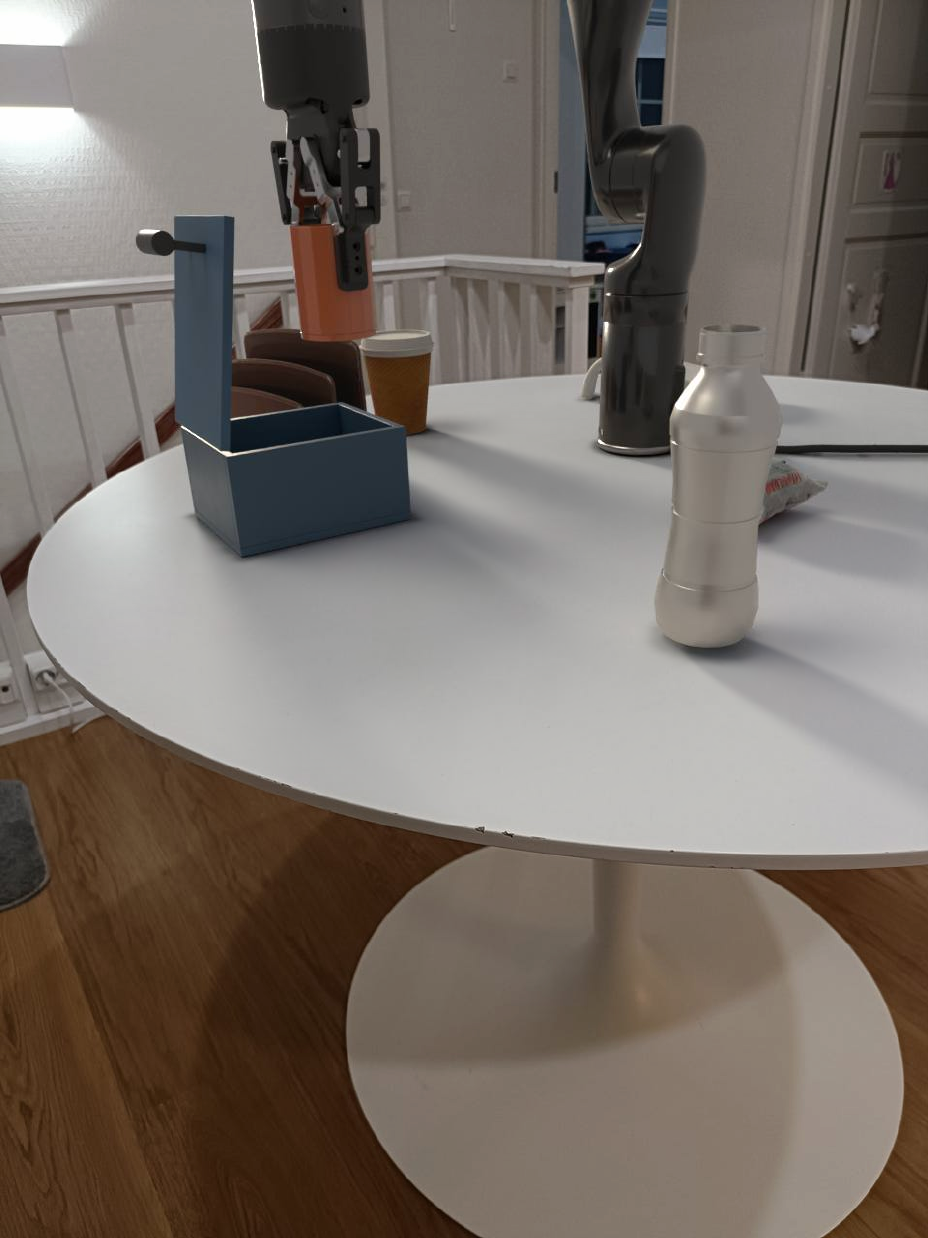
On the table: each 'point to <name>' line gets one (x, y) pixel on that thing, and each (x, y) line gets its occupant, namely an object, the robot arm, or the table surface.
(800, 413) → the table surface
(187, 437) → the dark blue rectangular box
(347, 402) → the letter holder
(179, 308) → the lid
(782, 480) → the packaged food
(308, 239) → the cup
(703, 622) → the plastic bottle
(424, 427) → the disposable coffee cup
